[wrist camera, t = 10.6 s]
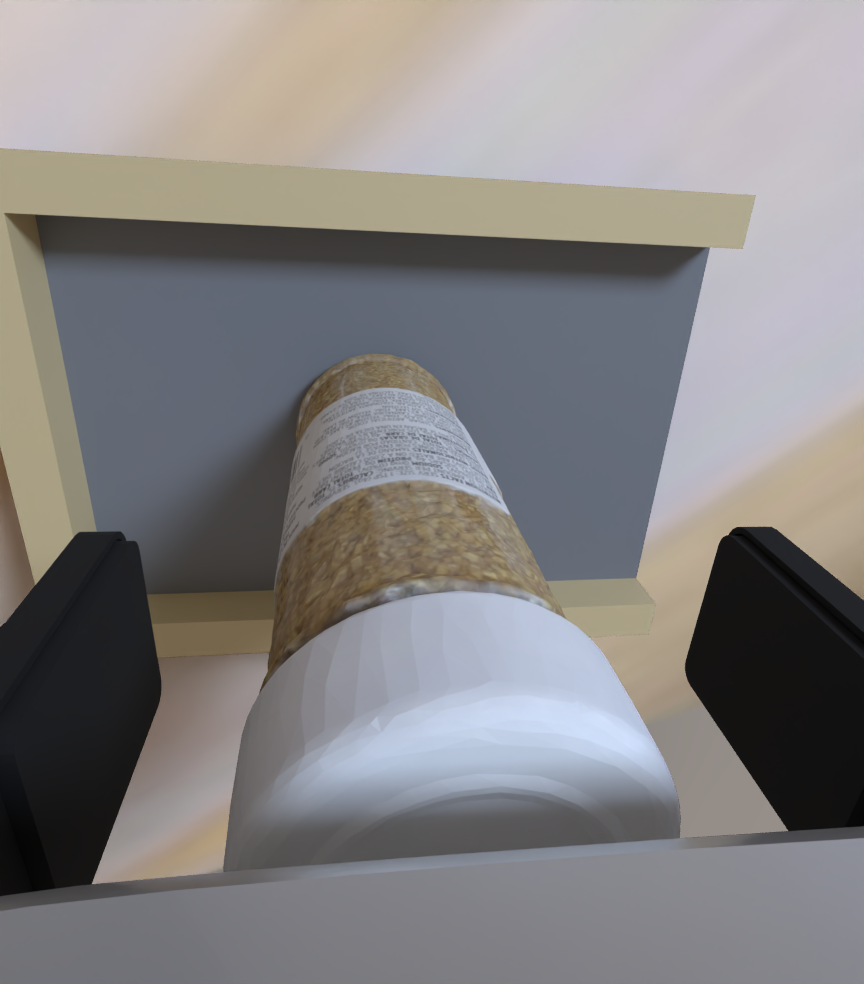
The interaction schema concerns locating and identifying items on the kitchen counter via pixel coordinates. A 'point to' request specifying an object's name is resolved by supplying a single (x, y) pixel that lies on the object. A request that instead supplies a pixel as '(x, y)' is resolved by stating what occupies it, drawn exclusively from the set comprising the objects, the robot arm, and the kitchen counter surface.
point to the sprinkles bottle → (424, 659)
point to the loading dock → (334, 359)
